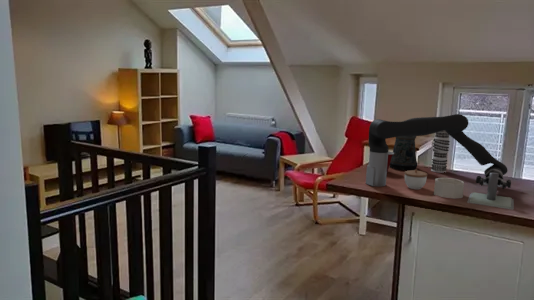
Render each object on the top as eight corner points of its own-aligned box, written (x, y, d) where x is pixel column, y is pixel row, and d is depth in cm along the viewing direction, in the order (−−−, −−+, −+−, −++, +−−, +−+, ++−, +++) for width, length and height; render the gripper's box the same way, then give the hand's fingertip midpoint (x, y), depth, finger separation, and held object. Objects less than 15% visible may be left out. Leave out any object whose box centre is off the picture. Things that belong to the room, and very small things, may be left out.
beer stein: (401, 171, 248) (404, 129, 244) (380, 164, 266) (383, 125, 261) (423, 169, 255) (427, 128, 250) (401, 163, 272) (404, 124, 268)
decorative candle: (429, 171, 250) (433, 129, 246) (431, 168, 258) (435, 127, 254) (445, 173, 246) (450, 130, 241) (447, 170, 254) (451, 129, 250)
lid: (510, 208, 182) (514, 179, 179) (469, 202, 189) (472, 174, 187) (511, 199, 195) (514, 172, 193) (472, 193, 203) (475, 167, 201)
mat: (513, 210, 180) (513, 209, 180) (466, 203, 189) (467, 202, 189) (513, 200, 196) (513, 199, 196) (470, 194, 205) (470, 193, 204)
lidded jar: (427, 191, 208) (429, 172, 206) (404, 189, 209) (406, 171, 208) (423, 185, 218) (425, 167, 216) (402, 184, 220) (403, 166, 218)
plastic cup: (394, 173, 243) (396, 153, 241) (375, 173, 243) (377, 152, 241) (389, 169, 253) (391, 149, 251) (371, 168, 254) (372, 149, 251)
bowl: (447, 200, 193) (449, 185, 192) (428, 192, 205) (429, 178, 203) (468, 197, 198) (470, 183, 197) (448, 190, 209) (449, 177, 208)
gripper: (478, 168, 208) (476, 174, 194) (512, 172, 201) (511, 179, 187) (477, 183, 209) (474, 190, 195) (510, 187, 202) (509, 195, 188)
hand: (492, 185), depth 191 cm, fingers open, 8 cm apart
